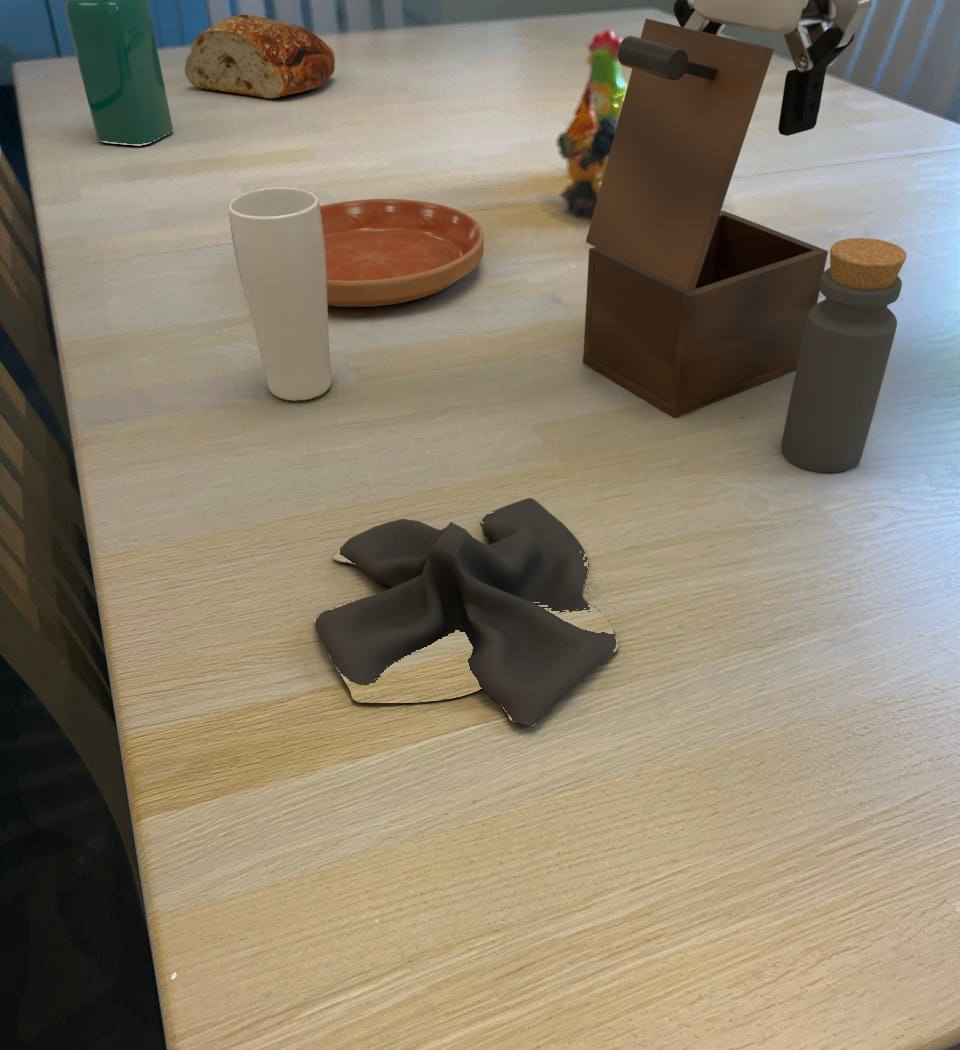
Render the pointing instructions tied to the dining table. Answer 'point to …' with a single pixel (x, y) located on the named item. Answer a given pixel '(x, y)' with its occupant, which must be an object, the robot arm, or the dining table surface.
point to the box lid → (675, 147)
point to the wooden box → (703, 317)
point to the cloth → (473, 605)
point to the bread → (259, 58)
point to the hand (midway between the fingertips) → (746, 117)
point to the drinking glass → (285, 286)
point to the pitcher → (120, 69)
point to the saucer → (396, 250)
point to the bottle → (843, 356)
